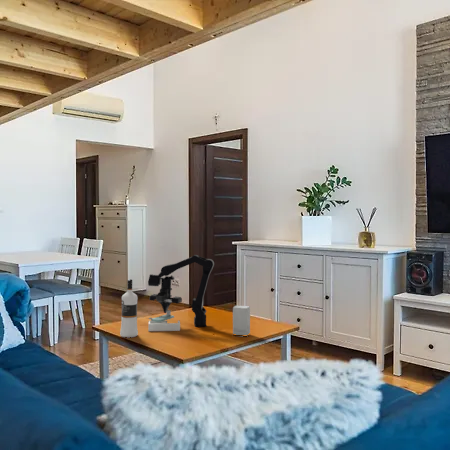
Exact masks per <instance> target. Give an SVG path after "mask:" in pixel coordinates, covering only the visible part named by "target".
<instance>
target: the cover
mask: <svg viewBox="0 0 450 450" xmlns="http://www.w3.org/2000/svg"><path fill="white" fill-rule="evenodd" d="M174 318H175V316H174V315H173V314H172V312H171V309H168V310H167V312H166V314H162V315H159V316H157V317H149V318H148V320H150V321H156V322H161V321H168V320H171V319H174Z"/></svg>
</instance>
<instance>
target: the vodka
mask: <svg viewBox="0 0 450 450" xmlns="http://www.w3.org/2000/svg"><path fill="white" fill-rule="evenodd" d="M126 285H127V286H126V287H127V288H126V289H127V290H126V292H125V293H124V294H122V296H121V317H120V319H121V323H120V324H121V325H120V331H119V333H120V334H119V335H120V336H121V337H122V338H125V337H127V338H129V339H130V337H131V338H135V337H138V334H139V330H138V299H139V298H138V297H139V296H138V295H137V294H136V293H135V292H133V279H127V284H126Z"/></svg>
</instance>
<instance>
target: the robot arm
mask: <svg viewBox="0 0 450 450" xmlns="http://www.w3.org/2000/svg"><path fill="white" fill-rule="evenodd" d="M195 263H196V264H198V265H200V266H202V276H201V280H200V284H199V287H198V291H197V294H196V298H195V297H194V298H193V299H192V301H191V303H192V304H191V306H190V307H191V311H192V313H194V317H193V324H194V326H195V327H197V328H198V327H200V328H201V327H204V328H205V327H207V314H206V313H207V310H206V308H205V307H204V296H205V293H206V289H207V287H208V286H207V285H208V281H209V278H210V274H211V272H212V271H213V268H214V267H215V262H214V260H213V259H211V258H205V257H202V256H200V255H197V254H194V255H192V256H191V257H187V258H186V259H184V260H180V261H177V262H175V263H171V264H166V265H164V266H162V267H161V269H160V272H159V273H158V274H152V273H151V274H149V276H148V281H147V286H148V287H159V286H160V289H159V292H158V293H153V294H151V295H150V296H149V299H148V300H149V301H153V302H154V301H155V300H156V302H158V303H159V304H161V307H162V310H163V313H164V314H167V310H169V307H170V306H171V304H180V303H181V302H183V299H182V297H181V296H173V297H172V293H171V292H172V290H173V288H172V281H174V280H175V276H173V275H171V274H173V273H174V272H175V271H177V270H180V269H181V268H184V267H187V266H189V265H192V264H195ZM169 275H170V276H169Z"/></svg>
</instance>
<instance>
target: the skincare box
mask: <svg viewBox="0 0 450 450" xmlns="http://www.w3.org/2000/svg"><path fill="white" fill-rule="evenodd" d="M249 333H250V334H251V306H249V305H234V306H233V307H232V335H233V334H236V335H248V334H249Z"/></svg>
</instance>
